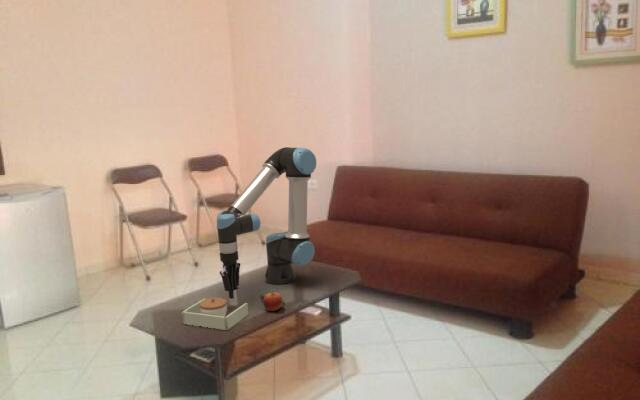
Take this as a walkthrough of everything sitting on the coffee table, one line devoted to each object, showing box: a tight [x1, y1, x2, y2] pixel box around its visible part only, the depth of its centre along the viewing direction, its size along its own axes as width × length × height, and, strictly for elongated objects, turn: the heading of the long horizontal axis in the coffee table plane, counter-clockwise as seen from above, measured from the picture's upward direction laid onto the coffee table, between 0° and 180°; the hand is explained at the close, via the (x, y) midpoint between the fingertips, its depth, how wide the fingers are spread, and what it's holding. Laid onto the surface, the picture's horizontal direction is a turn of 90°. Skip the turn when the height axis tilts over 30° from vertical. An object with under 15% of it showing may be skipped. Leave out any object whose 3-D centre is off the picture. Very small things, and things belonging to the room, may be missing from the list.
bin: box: [180, 298, 249, 331], centre depth 215 cm, size 16×21×5 cm
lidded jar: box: [200, 297, 228, 317], centre depth 214 cm, size 11×11×9 cm
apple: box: [262, 291, 284, 312], centre depth 223 cm, size 8×8×8 cm
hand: (233, 304), depth 227 cm, fingers closed
